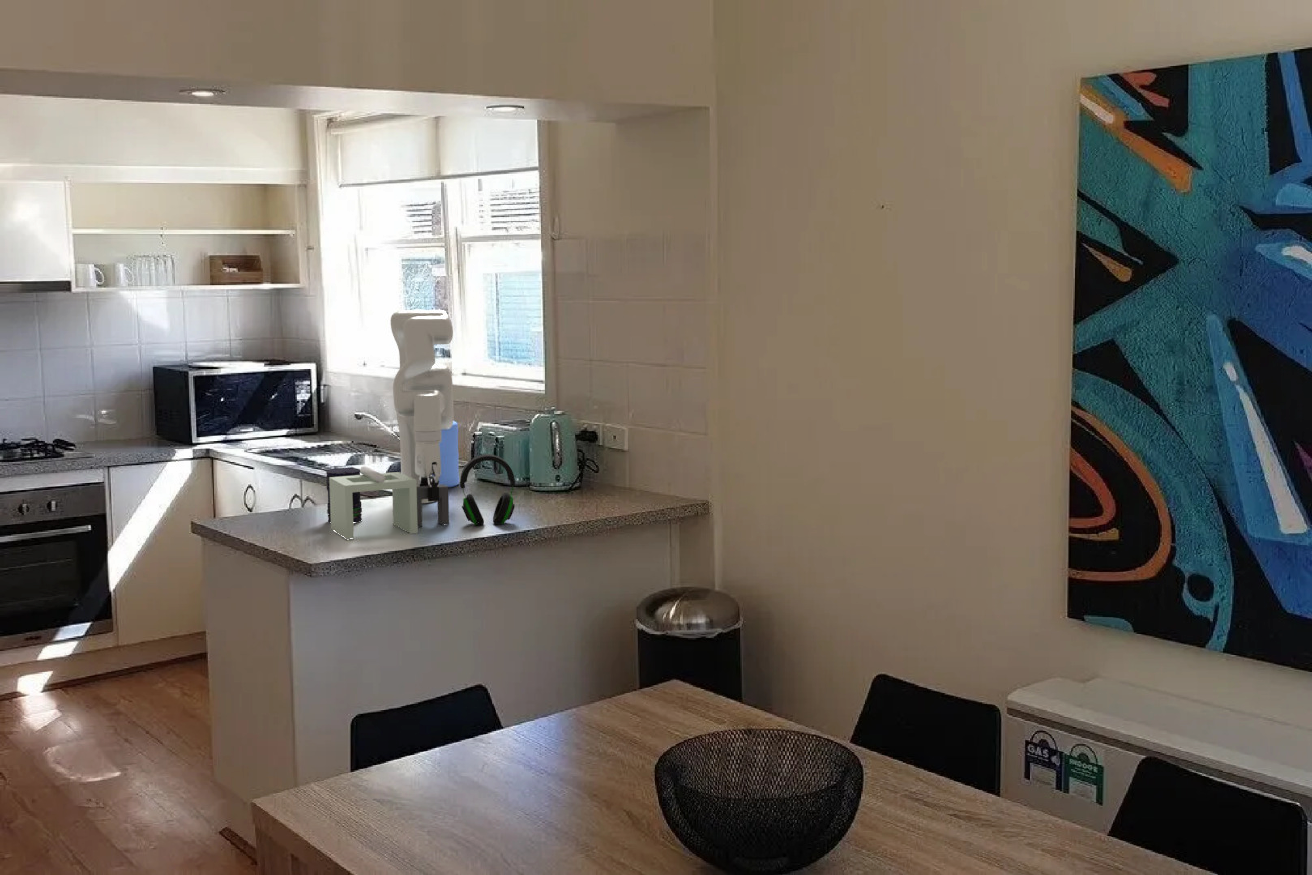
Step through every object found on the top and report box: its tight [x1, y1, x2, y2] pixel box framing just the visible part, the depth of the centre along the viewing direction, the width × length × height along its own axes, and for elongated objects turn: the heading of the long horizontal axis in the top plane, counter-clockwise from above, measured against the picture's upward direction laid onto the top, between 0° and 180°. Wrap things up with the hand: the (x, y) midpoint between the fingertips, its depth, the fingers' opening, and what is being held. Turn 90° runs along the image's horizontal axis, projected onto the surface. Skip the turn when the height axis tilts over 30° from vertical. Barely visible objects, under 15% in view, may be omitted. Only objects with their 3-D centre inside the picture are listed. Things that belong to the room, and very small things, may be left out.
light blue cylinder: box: [432, 420, 460, 488], centre depth 467 cm, size 16×16×28 cm
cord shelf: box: [329, 465, 419, 539], centre depth 390 cm, size 16×20×17 cm
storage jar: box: [325, 467, 363, 523], centre depth 405 cm, size 10×10×15 cm
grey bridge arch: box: [417, 485, 450, 527], centre depth 400 cm, size 4×10×11 cm, turn 118°
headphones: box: [459, 453, 516, 526], centre depth 400 cm, size 9×16×20 cm, turn 102°
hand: (429, 498), depth 400 cm, fingers open, 6 cm apart
